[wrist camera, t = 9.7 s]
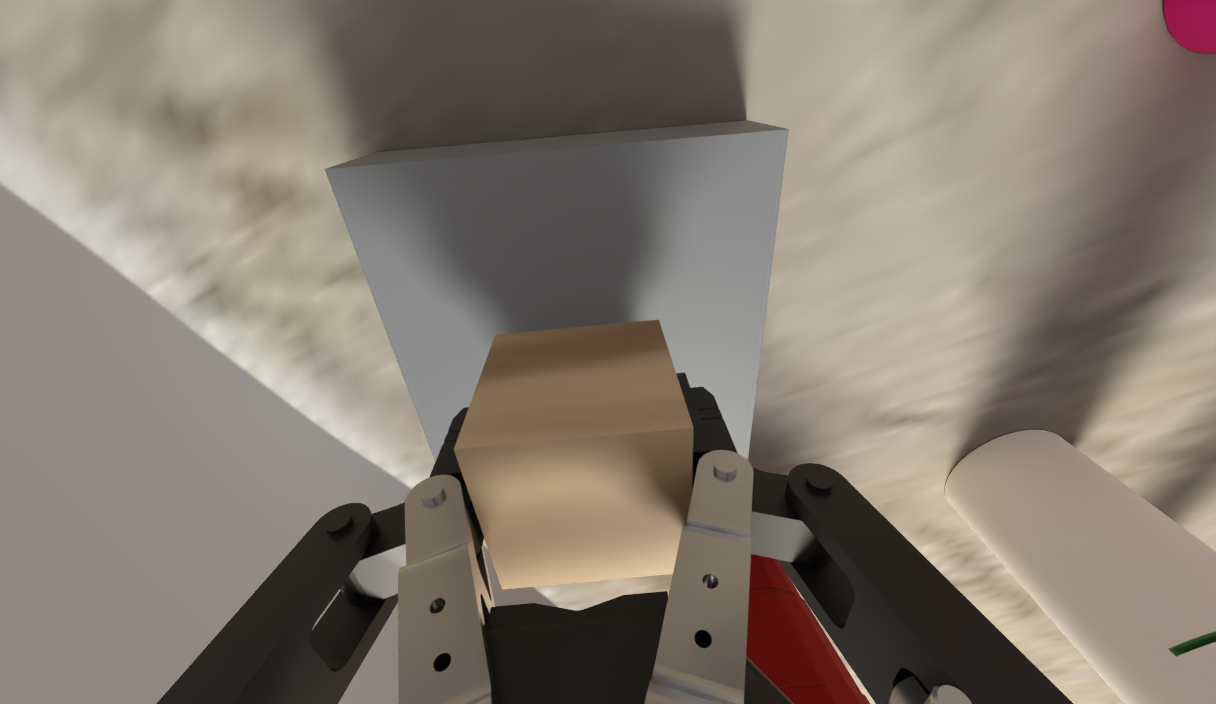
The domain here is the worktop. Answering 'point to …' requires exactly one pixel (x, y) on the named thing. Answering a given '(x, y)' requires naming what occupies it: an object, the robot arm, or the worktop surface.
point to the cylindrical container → (1097, 564)
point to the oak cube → (579, 454)
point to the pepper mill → (1192, 24)
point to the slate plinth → (571, 251)
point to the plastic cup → (793, 641)
